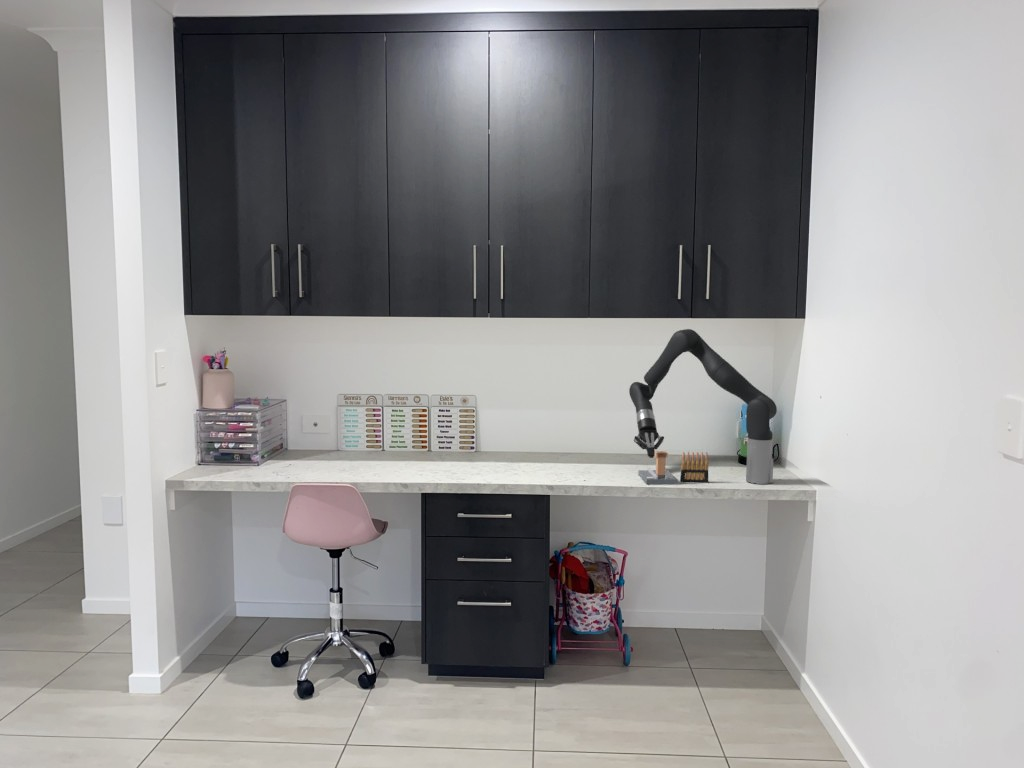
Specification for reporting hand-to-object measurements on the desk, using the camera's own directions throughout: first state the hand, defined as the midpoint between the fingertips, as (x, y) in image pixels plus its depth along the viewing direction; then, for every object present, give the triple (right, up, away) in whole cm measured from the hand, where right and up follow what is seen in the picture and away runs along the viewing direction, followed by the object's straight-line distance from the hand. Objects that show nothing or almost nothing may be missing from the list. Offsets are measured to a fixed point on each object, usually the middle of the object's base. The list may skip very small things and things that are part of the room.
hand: (651, 456), depth 325 cm
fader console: (0, -8, -10) cm, 13 cm away
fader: (+1, -6, -15) cm, 17 cm away
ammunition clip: (+14, -9, -14) cm, 21 cm away
